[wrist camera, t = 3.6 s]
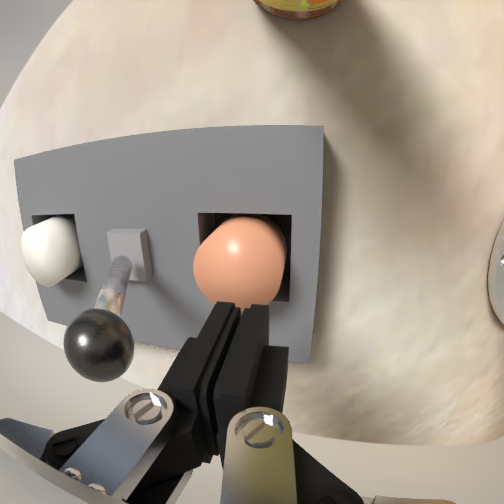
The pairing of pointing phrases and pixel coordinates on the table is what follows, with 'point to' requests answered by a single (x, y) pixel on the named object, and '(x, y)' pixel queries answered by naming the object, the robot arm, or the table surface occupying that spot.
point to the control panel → (179, 220)
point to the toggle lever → (103, 330)
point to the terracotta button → (241, 261)
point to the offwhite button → (52, 249)
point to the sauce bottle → (297, 7)
